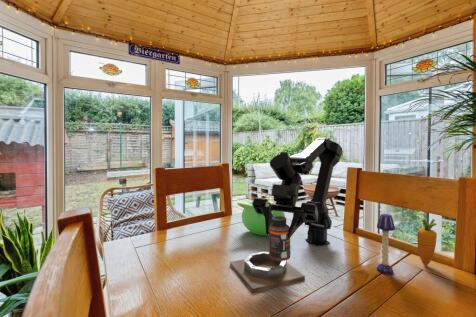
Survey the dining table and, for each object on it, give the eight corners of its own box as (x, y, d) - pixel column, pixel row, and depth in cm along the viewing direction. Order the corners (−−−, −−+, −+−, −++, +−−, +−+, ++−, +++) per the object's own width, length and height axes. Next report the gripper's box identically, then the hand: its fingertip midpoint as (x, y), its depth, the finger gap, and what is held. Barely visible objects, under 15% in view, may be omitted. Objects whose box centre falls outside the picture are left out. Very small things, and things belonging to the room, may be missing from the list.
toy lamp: (371, 268, 79) (373, 213, 78) (382, 265, 81) (384, 212, 80) (386, 275, 75) (388, 218, 74) (397, 272, 77) (399, 216, 75)
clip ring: (272, 257, 85) (272, 249, 84) (293, 273, 74) (293, 265, 74) (239, 263, 80) (239, 255, 80) (256, 282, 70) (256, 273, 69)
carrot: (432, 263, 82) (434, 216, 81) (438, 270, 77) (440, 221, 76) (413, 260, 84) (415, 214, 83) (418, 268, 79) (420, 219, 78)
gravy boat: (290, 231, 111) (291, 197, 109) (273, 245, 96) (274, 206, 95) (253, 224, 120) (253, 192, 119) (232, 236, 106) (232, 200, 105)
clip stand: (274, 256, 88) (274, 253, 87) (304, 279, 73) (304, 276, 73) (230, 265, 81) (230, 261, 81) (252, 292, 67) (252, 288, 67)
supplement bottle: (290, 262, 71) (290, 221, 70) (268, 261, 72) (267, 221, 71) (290, 253, 77) (289, 215, 76) (269, 252, 78) (268, 214, 77)
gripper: (254, 171, 80) (237, 216, 71) (316, 175, 72) (307, 226, 63) (264, 192, 88) (250, 235, 79) (321, 197, 79) (313, 246, 70)
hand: (277, 235), depth 72 cm, fingers closed on supplement bottle, 6 cm apart
